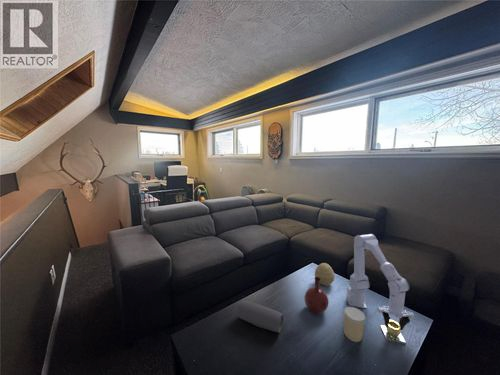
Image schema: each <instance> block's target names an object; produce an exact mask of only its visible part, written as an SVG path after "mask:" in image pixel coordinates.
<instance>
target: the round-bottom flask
mask: <svg viewBox="0 0 500 375" xmlns="http://www.w3.org/2000/svg"><path fill="white" fill-rule="evenodd" d="M320 285H321V284H320V278H319V277H314V286H313V287H310V288H308V289H307V290H306V291H305V293H304V304H305V306H306V308H307V309H308V310H309V311H310V312H312V313H314V314H323V313H324V312H326V311H327V310H328V308H329V304H330V303H329V302H330V301H329V297H328V295H327V293H326V292H325V291H324V290H323V289H322V288H320Z"/></svg>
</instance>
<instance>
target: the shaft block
mask: <svg viewBox="0 0 500 375" xmlns="http://www.w3.org/2000/svg"><path fill="white" fill-rule="evenodd" d="M379 327H380V330H381V331H382V334H383V336H384V338H385V341H389V342H393V343H399V344H403V345H406V344H407V341H406V340H405V338H404V336H403V335H402V333H401V332H400V335H399V336H395V335H392V334H390V333H389V332H388V331H387V329H386V326H385V325H382V324H381V325H380V326H379ZM391 327H393V328H396V327H395V326H393V325H391Z"/></svg>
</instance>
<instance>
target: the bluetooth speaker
mask: <svg viewBox="0 0 500 375" xmlns="http://www.w3.org/2000/svg"><path fill="white" fill-rule="evenodd" d="M237 317H238V318H239V319H241V320H243V321H245V322H247V323H250V324H252V325H254V326H256V327H259V328H261V329H263V330H269V331H271V332H275V333H279V334H280V333H281V331H282V328H283V323H284V314H283V313H281V312H279V311H278V310H275V309H272V308H270V307H266V306H264V305H262V304H258V303H256V302H255V303H254V302H251V301H248V300H241V302H239V306H238V310H237Z"/></svg>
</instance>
